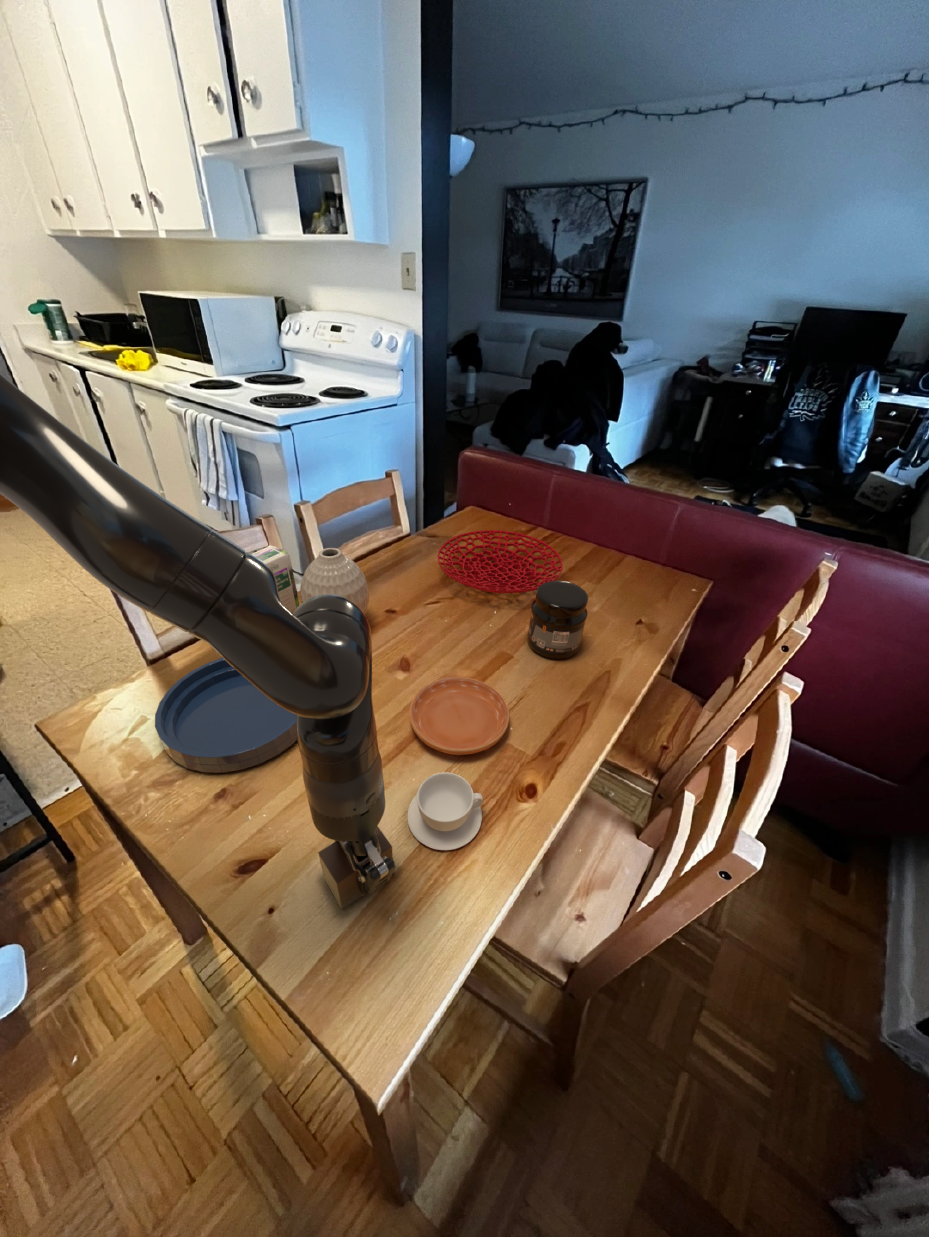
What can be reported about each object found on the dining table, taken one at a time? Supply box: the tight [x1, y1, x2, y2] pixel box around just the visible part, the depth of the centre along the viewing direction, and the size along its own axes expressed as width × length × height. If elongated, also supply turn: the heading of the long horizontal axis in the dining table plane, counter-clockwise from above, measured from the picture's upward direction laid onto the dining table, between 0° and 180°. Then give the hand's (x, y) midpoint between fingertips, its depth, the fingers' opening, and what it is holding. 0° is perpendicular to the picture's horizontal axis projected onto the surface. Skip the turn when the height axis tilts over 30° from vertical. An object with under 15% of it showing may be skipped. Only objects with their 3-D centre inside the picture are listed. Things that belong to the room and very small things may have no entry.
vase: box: [299, 547, 370, 616], centre depth 96 cm, size 13×13×17 cm
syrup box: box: [250, 544, 300, 613], centre depth 98 cm, size 6×6×14 cm
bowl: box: [437, 529, 564, 594], centre depth 118 cm, size 30×30×5 cm
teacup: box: [407, 771, 484, 851], centre depth 66 cm, size 10×10×5 cm
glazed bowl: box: [154, 657, 297, 773], centre depth 79 cm, size 23×23×4 cm
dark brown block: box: [318, 825, 395, 910], centre depth 58 cm, size 7×4×6 cm, turn 129°
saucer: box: [408, 676, 510, 756], centre depth 80 cm, size 16×16×3 cm
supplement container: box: [526, 580, 589, 660], centre depth 95 cm, size 10×10×12 cm
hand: (358, 870), depth 59 cm, fingers closed on dark brown block, 4 cm apart
